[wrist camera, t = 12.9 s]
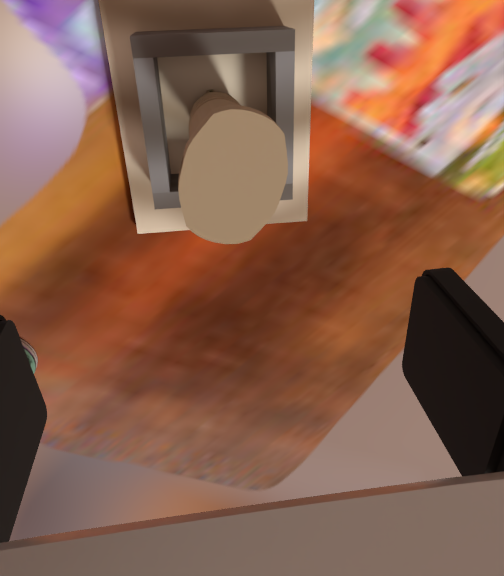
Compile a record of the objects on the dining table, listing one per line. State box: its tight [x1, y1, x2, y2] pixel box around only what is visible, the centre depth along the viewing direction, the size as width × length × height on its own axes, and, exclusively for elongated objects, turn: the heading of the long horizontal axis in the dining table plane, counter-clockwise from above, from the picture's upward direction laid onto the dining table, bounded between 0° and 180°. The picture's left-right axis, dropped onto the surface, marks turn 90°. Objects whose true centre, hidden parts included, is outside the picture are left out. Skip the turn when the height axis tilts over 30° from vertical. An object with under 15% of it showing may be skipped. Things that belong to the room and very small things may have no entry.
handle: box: [178, 89, 288, 244], centre depth 29 cm, size 5×6×15 cm
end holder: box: [98, 0, 314, 234], centre depth 34 cm, size 18×14×5 cm
